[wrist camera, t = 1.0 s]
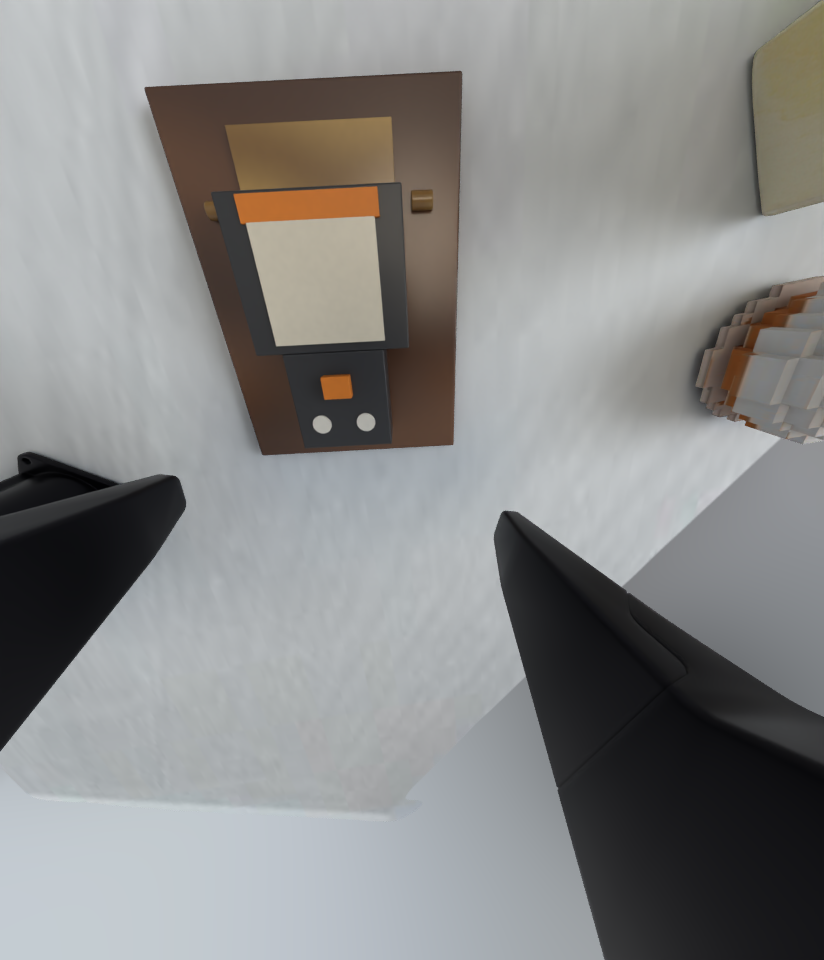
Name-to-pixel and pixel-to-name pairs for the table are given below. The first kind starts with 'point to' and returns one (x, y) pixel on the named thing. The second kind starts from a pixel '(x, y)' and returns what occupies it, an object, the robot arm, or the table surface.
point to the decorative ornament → (772, 364)
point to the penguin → (324, 298)
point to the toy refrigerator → (790, 115)
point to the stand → (326, 162)
